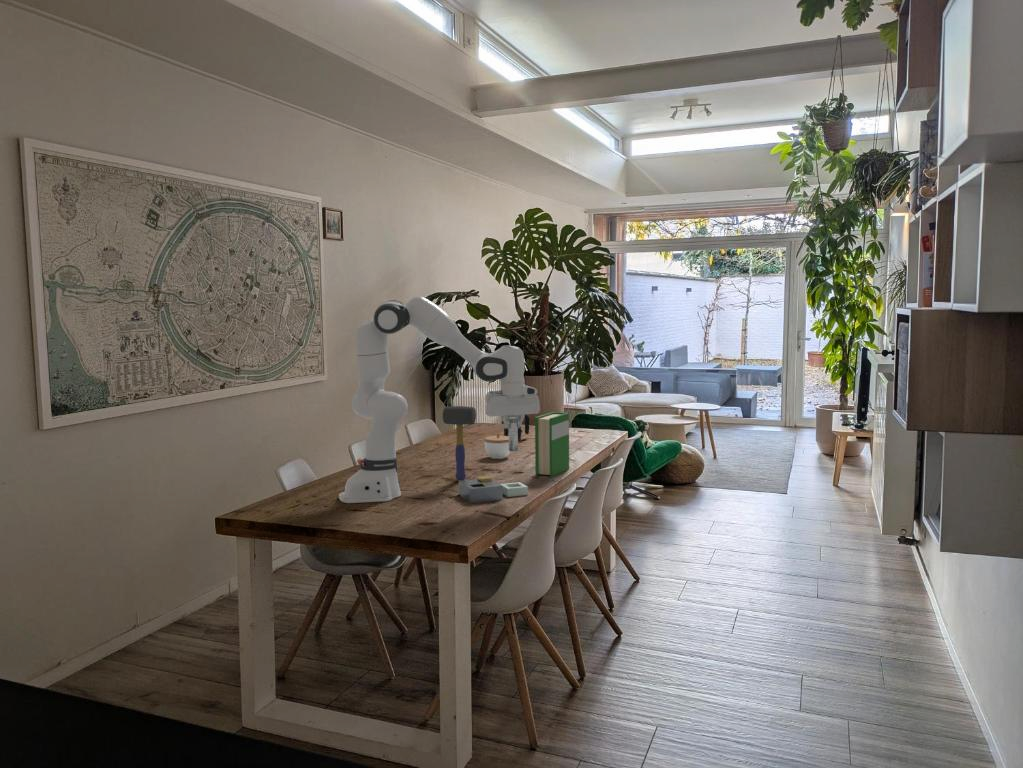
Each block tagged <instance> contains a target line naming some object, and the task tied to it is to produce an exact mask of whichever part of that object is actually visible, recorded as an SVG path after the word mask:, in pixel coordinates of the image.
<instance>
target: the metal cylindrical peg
mask: <svg viewBox="0 0 1023 768" xmlns="http://www.w3.org/2000/svg"><path fill="white" fill-rule="evenodd" d="M508 423H510V425H509V426H510V427H509V428H508V434H509V451H510V452H518V451H519V440H518V418H508Z"/></svg>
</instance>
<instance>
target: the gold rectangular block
mask: <svg viewBox="0 0 1023 768" xmlns="http://www.w3.org/2000/svg"><path fill="white" fill-rule="evenodd" d="M476 479H478V481H480V482H488V481H492V480H493V477H491V476H490V475H480V476H479V475H478V476H477V477H476Z"/></svg>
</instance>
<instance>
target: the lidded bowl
mask: <svg viewBox="0 0 1023 768" xmlns="http://www.w3.org/2000/svg"><path fill="white" fill-rule="evenodd" d="M484 448H485V452H486V454H487V455H488V457H490V459H492V460H493V459H495V460H503V459H506V458H507V457H508V455H509V454H510V453H511V451H509V436H504V435H500V433H496V435H490V436H486V437H484Z"/></svg>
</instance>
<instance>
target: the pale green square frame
mask: <svg viewBox="0 0 1023 768" xmlns="http://www.w3.org/2000/svg"><path fill="white" fill-rule="evenodd" d="M499 484H500V485H502V486H503V496H506V497H507V498H509V497H517V496H518V497H519V496H528V495H529V486H528V485H525V484H524V483H522V482H521V481H520V482H519V481H518V482H508V483H507V482H506V483H499Z"/></svg>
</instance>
